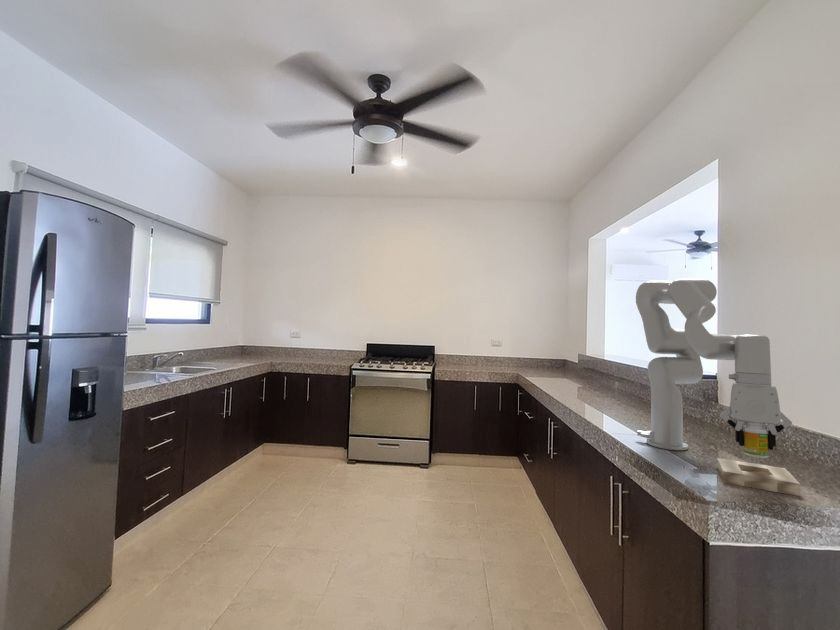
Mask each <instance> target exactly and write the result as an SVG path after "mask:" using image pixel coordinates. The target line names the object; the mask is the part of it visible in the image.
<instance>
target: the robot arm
mask: <svg viewBox="0 0 840 630" xmlns="http://www.w3.org/2000/svg"><path fill="white" fill-rule="evenodd" d="M717 292H718V291H717V288H716V285H715V284H714V283H713V282H712V281H711V280H708V279H705V278H686V277H685V278H684V277H683V278H677V279H675V280H673V281H672V280H648V281H644V282H643V283H641V284H639V286H638V288H637V289H636V292H635V304H636V307H637V311H638V312H639V315H640V317H641V320H642V323H643V325H642V326H643V329H644V330H643V331H644V336H645V339H646V343H647V344H646V345H647V348H648V349H649V351H650V352H651V353H653V354H657V355H658V354H659V355H675V356H658V357H655V358H653V359H651V360H650V361H649V362H648V364H647V374H648V378H649V383H650V402H651V403H650V407H651V408H650V413H651V414H650V415H651V416H650V420H651V422H650V423H651V425H650V428H651V429H650V430H646V431H643V430H640V429H639V430H637V432H636V433H637V436H639V437H641V438H647V439H646V444H647V445H649V446H651V447H655V448H658V449H663V450H669V451H686V450H688V449H689V445H688V444H687V443H685V442H684V431H683V430H684V427H683V423H684V420H683V417H684V416H683V415H684V413H683V397H682V396H683V395H682V393H681V391H680V389H679V388H678V386H677V385H679V384H680V385H692V384H693V385H694V384H697V383H699V382H700V381H701V380H702V378H703V375H704V368H703V363H702V359H701V358H703V359H706V360H711V361H712V360H718V361H720V360H721V361H724V360H725V361H734V373H732V374H730V373H729V374H728V379H729V380H732V381H734V382H735V383H734V382H733V383H732V385H731V388H730V389H731V391H730V398H729V399H730V401H729V406H728V407H727V408H726V409H725V410H723V411H722V412H721V413H720V414H719V417H720V418H721V419H722V420H723V421H725V423H727V424H728V425H730V426H731V427H732V428H733V429H734V432H735V434H734V435H735V442H736V443H738V445H739V446H740V447H743V446H744V444H743V431H742V427H743V426H744V423H745V422H755V423H764V425H766V427H767V428H766V429H767V431H768V445H769V450H771V451H774V447H776V446H777V441H776V435H778V434H779V433H780V432H781V431H783V430H784V429H786V428H788V427H790V426H791V425H792V424H793V421H791V420H790V419H789V418H788V417H787V416H786V415H785V414H784V412H783V413H782V412H781V406H780V399H779V394H778V389H777V387H776V386H774V385H772V364H771V363H772V362H771V343H770V338H769V337H768V336H766V335H763V334H720V333H718V334H717V333H710V332H709V331H708V330H707V328H706V327H705V326H704V323H706V322H708V321H709V320H711V319H712V318H713V317H714V315H716V312H717V310H716V309H717V308H716V305H714V304H713V303H712V302H713V301H714V300H715V299H716V296H717ZM660 304H664V305H665V304H668V305H675V306H676V307H677V309H678V310H679V311H680V312H681V313H682V316H683V317H685V319H686V320H685V323H684V329H683V328H681V329H680V328H672V327H671V323H670V319H669V315H668V314H667V313H666V311H665V309H664V308H662V307H661V306H660ZM729 415H730V416H731V417H732V418H733V419H734V420H735V421H733V420H732V419H731V418H729Z"/></svg>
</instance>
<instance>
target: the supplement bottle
mask: <svg viewBox="0 0 840 630" xmlns="http://www.w3.org/2000/svg"><path fill="white" fill-rule="evenodd" d="M744 423H745V425H742V427H741V429H742V431H743V444H744V446H742V453H743V454H744V455H746V456H748V457H751V458H758V459H759V458H760V459H767V458H769V457H770V456H769V455H770V454H769V453H770V451H769V450H770V449H769V445H768V431H769V430H768V428H765V427H764V426H765V423H755V422H745V421H744Z"/></svg>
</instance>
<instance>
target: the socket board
mask: <svg viewBox="0 0 840 630" xmlns="http://www.w3.org/2000/svg"><path fill="white" fill-rule="evenodd" d="M716 465H717V466H716V467H717V471H718V473H719V475H720V478H721V480H722V482H723V483H724V484H729V485H735V486H741V487H745V486H746V488H751V487H752V488H753V489H758V490H762V489H763V491H770V492H775V493H782V494H787V495H792V496H797V497H801V483H800V482H799V481H798V480H797V479H796V478H795V477H794V475H792V473H790V471H788V470H787V468H785V467H779V466H774V465H773V466H772V465H766V464H762V463H761V464H759V463H754V462H753V463H752V462H746V461H739V460H735V459H733V460H732V459H727V458H719V457H717V458H716Z"/></svg>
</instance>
